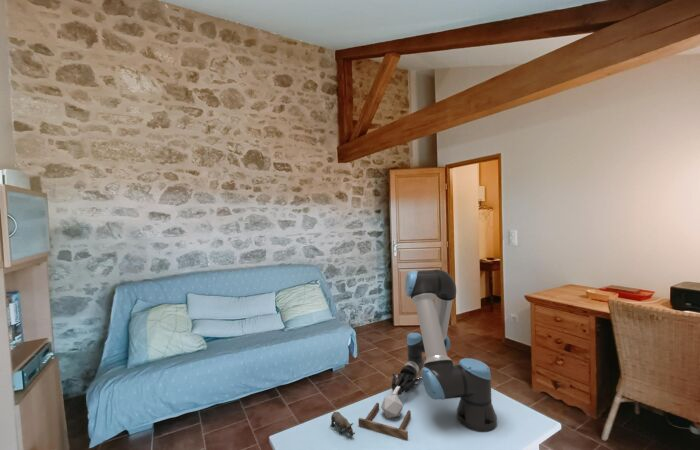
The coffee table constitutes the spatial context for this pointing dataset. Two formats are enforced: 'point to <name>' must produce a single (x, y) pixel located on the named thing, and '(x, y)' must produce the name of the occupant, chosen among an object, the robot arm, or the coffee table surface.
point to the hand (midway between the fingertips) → (393, 396)
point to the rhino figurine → (341, 423)
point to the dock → (383, 428)
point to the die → (392, 406)
